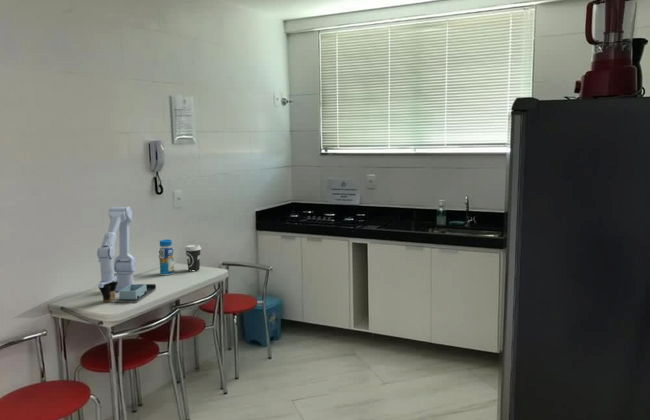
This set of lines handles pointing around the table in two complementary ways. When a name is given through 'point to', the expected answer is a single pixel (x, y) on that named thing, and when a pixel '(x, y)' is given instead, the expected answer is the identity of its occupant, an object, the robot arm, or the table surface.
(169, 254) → the beverage bottle
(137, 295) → the cart
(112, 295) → the walnut block
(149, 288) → the rail
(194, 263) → the coffee cup
